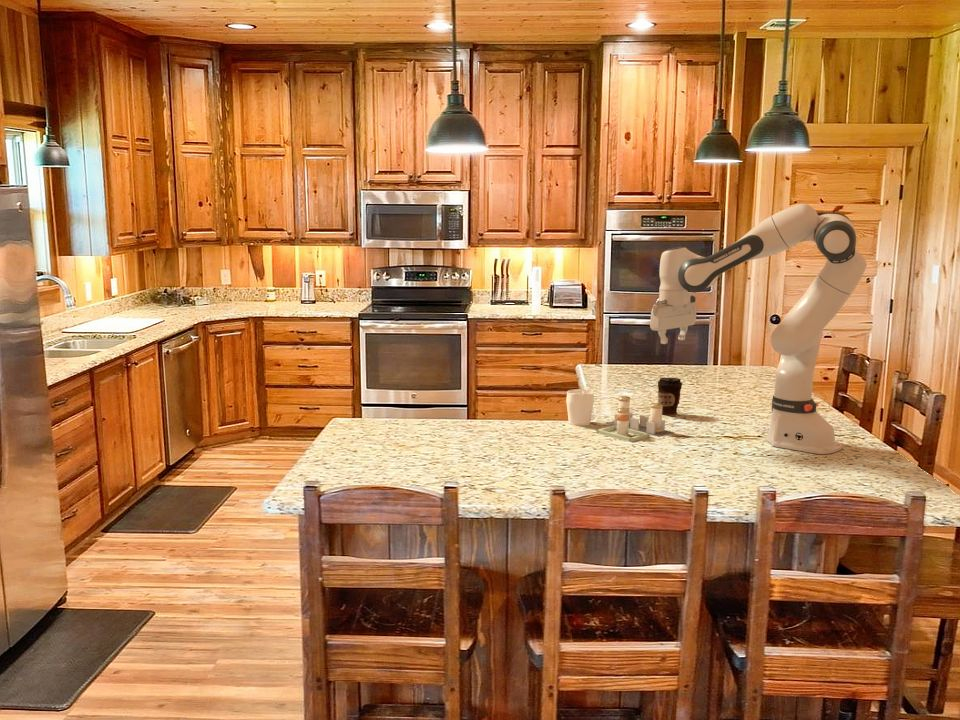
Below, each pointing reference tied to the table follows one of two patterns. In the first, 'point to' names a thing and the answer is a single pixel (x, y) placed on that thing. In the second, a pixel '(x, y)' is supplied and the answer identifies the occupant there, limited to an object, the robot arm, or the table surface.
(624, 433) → the fuse marked
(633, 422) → the fuse block
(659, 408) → the fuse
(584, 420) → the cup
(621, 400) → the fuse
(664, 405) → the coffee cup
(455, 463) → the table surface
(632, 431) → the tray
